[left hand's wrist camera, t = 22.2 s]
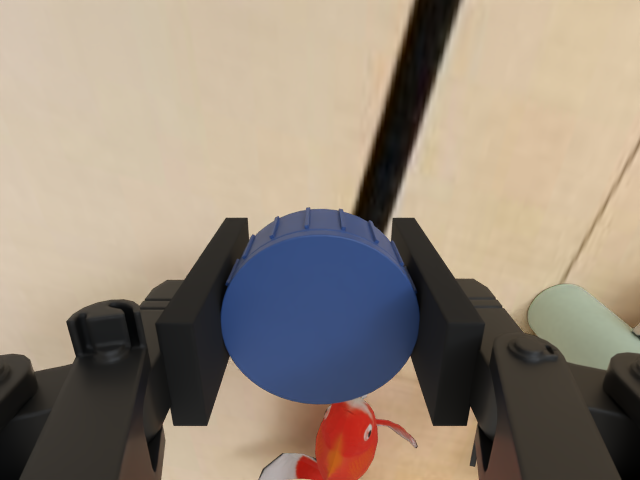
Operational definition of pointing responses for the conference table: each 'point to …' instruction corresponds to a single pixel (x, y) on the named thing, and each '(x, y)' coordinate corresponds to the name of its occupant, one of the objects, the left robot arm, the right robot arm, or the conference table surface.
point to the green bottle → (580, 326)
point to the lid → (320, 308)
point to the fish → (337, 446)
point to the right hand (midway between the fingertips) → (608, 365)
